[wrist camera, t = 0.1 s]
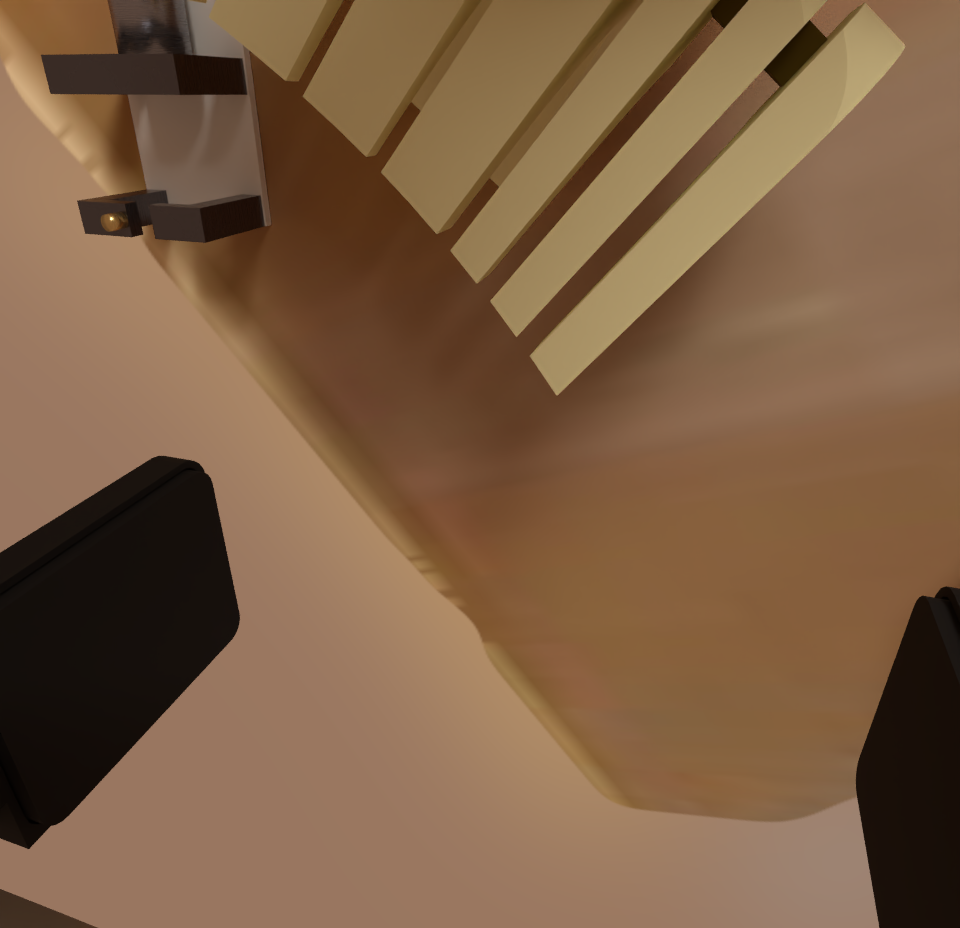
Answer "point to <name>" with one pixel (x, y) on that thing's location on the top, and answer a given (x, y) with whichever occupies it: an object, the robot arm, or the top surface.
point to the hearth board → (202, 130)
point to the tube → (150, 26)
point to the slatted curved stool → (571, 124)
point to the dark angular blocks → (170, 216)
